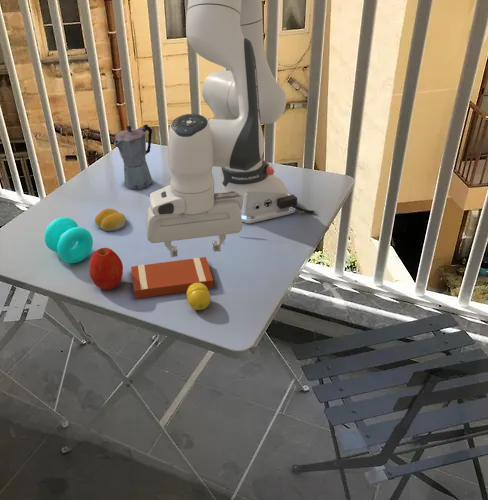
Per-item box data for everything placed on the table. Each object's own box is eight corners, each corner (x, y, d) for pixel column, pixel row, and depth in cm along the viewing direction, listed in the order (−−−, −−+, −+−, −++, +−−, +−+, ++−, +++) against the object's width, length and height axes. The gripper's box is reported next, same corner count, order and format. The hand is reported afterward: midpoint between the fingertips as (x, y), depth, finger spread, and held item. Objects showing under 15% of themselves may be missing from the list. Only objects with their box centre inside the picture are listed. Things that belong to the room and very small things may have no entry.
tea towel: (206, 264, 143) (205, 256, 142) (213, 288, 135) (213, 279, 133) (132, 274, 142) (131, 266, 140) (135, 298, 133) (133, 290, 132)
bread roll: (109, 235, 158) (107, 223, 156) (91, 224, 164) (89, 212, 161) (132, 224, 162) (131, 212, 160) (114, 213, 168) (112, 201, 166)
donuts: (78, 241, 156) (72, 210, 151) (97, 255, 150) (91, 223, 144) (46, 255, 151) (39, 223, 146) (64, 271, 145) (57, 238, 139)
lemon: (185, 297, 133) (184, 279, 130) (207, 294, 133) (206, 276, 130) (190, 317, 126) (189, 299, 124) (213, 314, 127) (212, 296, 124)
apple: (115, 270, 143) (110, 235, 137) (131, 286, 138) (126, 250, 132) (86, 282, 140) (79, 246, 134) (101, 299, 134) (94, 262, 128)
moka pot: (111, 188, 181) (103, 129, 170) (144, 170, 191) (138, 113, 180) (132, 196, 176) (125, 136, 165) (165, 177, 185) (160, 119, 174)
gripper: (239, 183, 117) (239, 239, 125) (142, 194, 116) (148, 250, 123) (246, 197, 112) (245, 254, 120) (144, 209, 111) (150, 266, 118)
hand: (195, 252), depth 122 cm, fingers open, 8 cm apart
